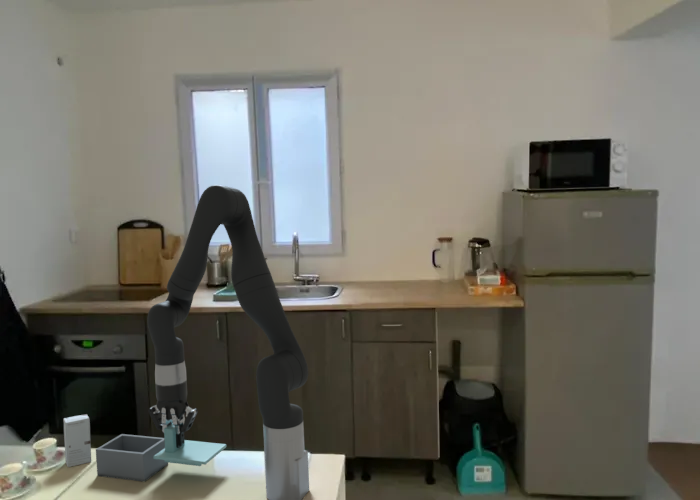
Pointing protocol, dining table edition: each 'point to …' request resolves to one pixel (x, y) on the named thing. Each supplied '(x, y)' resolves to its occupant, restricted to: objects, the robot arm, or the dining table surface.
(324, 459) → the dining table surface
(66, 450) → the skincare box
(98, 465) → the box
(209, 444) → the tub lid
